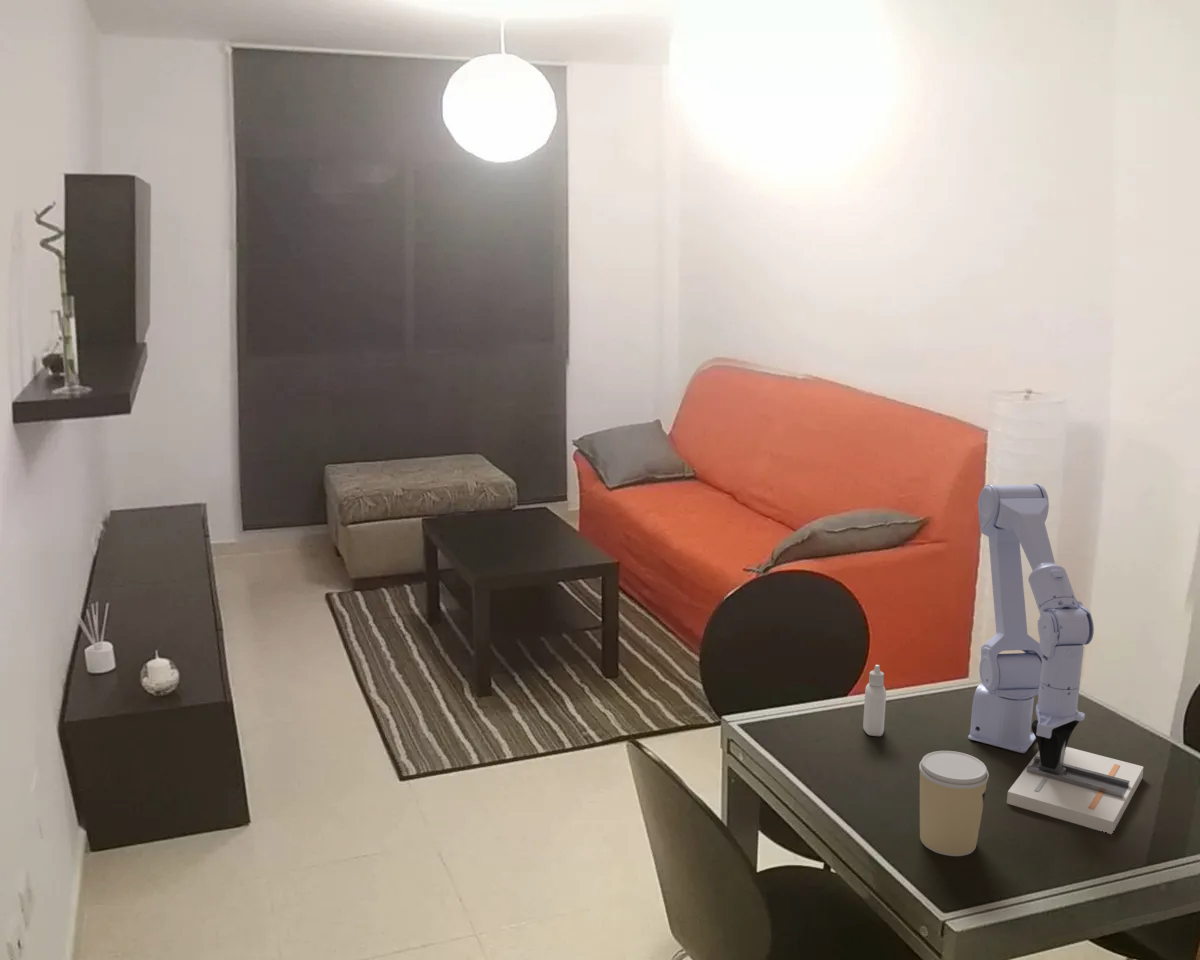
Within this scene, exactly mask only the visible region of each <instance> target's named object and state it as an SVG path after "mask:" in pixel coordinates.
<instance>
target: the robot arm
mask: <svg viewBox="0 0 1200 960" xmlns="http://www.w3.org/2000/svg"><path fill="white" fill-rule="evenodd" d="M1048 495H1049V494H1048V492H1047V490H1046V489H1045V487H1044V486H1043V485H1042V484H1040V483H1032V484H995V485H994V484H990V483H989V484H988V483H987V484H986V485H984V487H983V488H982V489H981V491H980V494H979V497H978V499H977V508H978V521H979V523H978V524H979V526H980V527H979V529H980V533H981V534H982V535H984V536H985V537H988V548H989V559H990V571H991V572H990V574H991V582H992V597H993V608H994V609H993V610H994V611H993V612H994V620H995V622H994V623H995V634H994V635H993V636H991V638H989V639H988V640H987V641H986V642H985V643H984V644H983V645H982V646H981V647H980V649H981V650H980V661H979V666H978V667H979V670H978V671H979V678H980V681H981V683H979V685H977V687H976V689H975V691H974V695H973V698H972V706H971V715H970V729H969V734H968V737H967V738H968V739H969V740H972V741H976V742H980V743H983V744H988V745H991V746H993V747H998V748H1002V749H1005V750H1009V751H1012V752H1016V753H1020V754H1026V753H1027V751H1028V750H1029V748H1031V746H1032V744H1033V743H1034V742H1035V741H1036V742H1037V745H1038V746H1037V747H1038V751H1039V753H1040V760H1041V765H1042V766H1044V767H1047V768H1051V769H1056V767H1057V765H1058V762H1059V759H1060V755H1061V751H1062V748H1063V746H1064V743H1065V741H1066V743H1065V750H1066V747H1068V743H1069V740H1070V738H1071V736H1072V733H1073V731H1074V729H1075V728H1076V727H1077V725H1078V724H1079V723H1080V722H1082V721H1084V720H1085V718H1086V714H1085V713H1084V712H1082V711H1079V709H1078V703H1079V693H1080V685H1081V676H1082V675H1081V674H1082V667H1083V658H1084V657H1083V656H1084V650H1085V649H1084V648H1085V647H1084V645H1086V646H1087V645H1089V644H1090V643H1091V642H1092V640H1093V638H1094V631H1095V627H1094V622H1093V621H1094V620H1093V617H1092V614H1091V613H1092V612H1091V611H1090V610H1089V609H1088V608H1087V607H1085V606H1084V605H1083V602H1082V601H1078V600H1077V598H1076V595H1075V592H1074V590H1073V588H1072V584H1071V581H1070V578H1069V577H1068V574H1067V571H1066V569H1065V568H1064V567H1063V566H1062V565H1058V564H1057V563H1056V561H1055V558H1054V552H1053V550H1052V549H1053V548H1052V546H1051V541H1050V538H1049V534H1048V530H1047V527H1046V520H1047V518H1048V516H1049V515H1048V514H1049V509H1050V507H1049V506H1050V503H1049V496H1048ZM1021 548H1022V550H1023V552H1024V554H1025V557H1026V559H1027V561H1028V563H1029V565H1030V568H1031V570H1032V572H1031V573H1030V574H1029V576H1028V583H1029V585H1030V589H1031V591H1032V594H1033V598H1034V600H1035V601H1034V602H1035V603H1036V606H1037V609H1038V613H1039V619H1038V620H1037V632H1038V636H1039V641H1037V640H1036V639H1034V638H1033V637H1032V636H1031V635H1029V634H1028V624H1027V614H1026V613H1027V612H1026V601H1025V599H1026V598H1025V589H1024V587H1025V586H1024V579H1023V577H1024V576H1023V568H1022V564H1023V563H1022V556H1021V555H1022V554H1021ZM1006 651H1022V652H1020V653H1018V652H1017V653H1013V652H1012V653H1001V652H1006ZM1035 696H1036V697H1037V703H1036V705H1035V714H1036V718H1037V719H1034V720H1033V712H1034V702H1035Z"/></svg>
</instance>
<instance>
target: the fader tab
mask: <svg viewBox="0 0 1200 960" xmlns="http://www.w3.org/2000/svg"><path fill="white" fill-rule="evenodd" d="M1065 743H1066V741H1065ZM1065 743H1064V746H1063V748H1062V751H1061V755H1060V759H1059V762H1058V765H1057V767H1056V769H1051V768H1047V767H1044V766H1042V765H1041V760H1040V762H1039V763H1038V764H1037V766H1036V767H1037V768H1040V769H1044V770H1048V771H1051V772H1055V773H1059V774H1062V775H1064V774H1065V772H1066V768H1064V767H1063V762H1064V753H1065Z"/></svg>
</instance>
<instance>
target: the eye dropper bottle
mask: <svg viewBox="0 0 1200 960" xmlns="http://www.w3.org/2000/svg"><path fill="white" fill-rule="evenodd" d="M884 678H885V673H884V672H883V671H881V669H880V664H875V666H874V669H873V670H871V671H870V672H869V677H868V680H869V681H868V683H867V684H866V686H865V690H864V691H865V692H864V706H863V708H864V709H863V724H862V729H863V731H864V732H865V733H866V734H867V735H868V736H870V737H871V736H872V737H881V736H883V734H884V730H885V717H886V701H887V700H886V699H887V691H886V688H885V686H884V684H885V683H884V681H885V679H884Z"/></svg>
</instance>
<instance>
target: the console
mask: <svg viewBox="0 0 1200 960" xmlns="http://www.w3.org/2000/svg"><path fill="white" fill-rule="evenodd" d="M1039 762H1040V753H1039V750H1038V751H1037V753H1036V754H1035V755H1034V756H1033V757H1032V759H1031V760H1030V762H1029V763H1028V765H1026V767H1025V768H1024V769H1023V771H1022V772H1021V774H1020V775H1019V776H1018V777H1017V779H1016V780H1015V781H1014V783H1013V784H1012V785H1011V786H1010V788H1009V789H1008V791H1007V797H1006V804H1008V805H1011V806H1014V807H1017V808H1021V809H1023V810H1024V809H1025V810H1027V811H1032V812H1035V813H1039V814H1041V815H1045V816H1048V817H1051V818H1055V819H1057V820H1062V821H1065V822H1069V823H1072V824H1074V825H1075V824H1076V825H1078V826H1083V827H1086V828H1088V829H1092V830H1095V831H1099V832H1102V831H1103V832H1102V833H1105V832H1107V833H1106V834H1109V835H1113V834H1112V833H1114V832H1113V831H1115V829H1116V827H1117V826H1118V825H1119V822H1120V821H1121V818H1122V817H1123V815H1124V812H1125V811H1126V809H1127V808H1128V806H1129V804H1130V802H1131V800H1132V798H1133V796H1134V794H1135V792H1136V791H1137V788H1139V785H1140V784H1141V781H1142V779H1143V775H1144V766H1142V765H1139V764H1135V763H1131V762H1127V761H1125V760H1124V761H1123V760H1119V759H1115V758H1112V757H1109V756H1105V755H1104V756H1103V755H1100V754H1096V753H1093V752H1088V751H1085V750H1081V749H1078V748H1074V747H1068V746H1066V750H1065V753H1064V762H1063V767H1064V768H1066V772H1065V774H1064V775H1062V774H1059V773H1055V772H1051V771H1048V770H1044V769H1040V768H1037V767H1036V766H1037V764H1038V763H1039Z"/></svg>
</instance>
